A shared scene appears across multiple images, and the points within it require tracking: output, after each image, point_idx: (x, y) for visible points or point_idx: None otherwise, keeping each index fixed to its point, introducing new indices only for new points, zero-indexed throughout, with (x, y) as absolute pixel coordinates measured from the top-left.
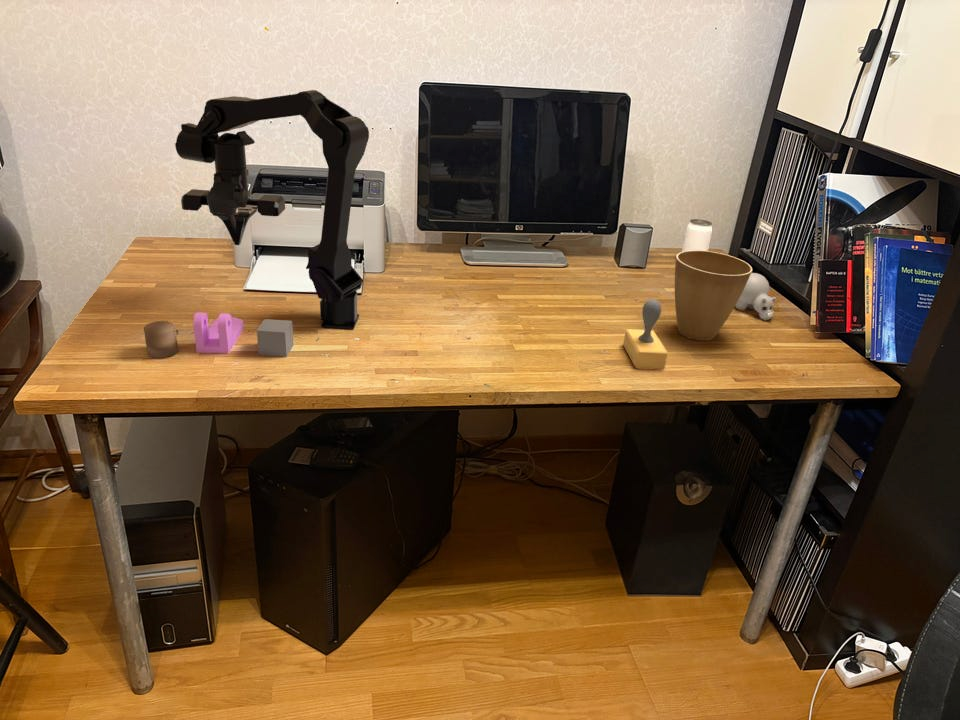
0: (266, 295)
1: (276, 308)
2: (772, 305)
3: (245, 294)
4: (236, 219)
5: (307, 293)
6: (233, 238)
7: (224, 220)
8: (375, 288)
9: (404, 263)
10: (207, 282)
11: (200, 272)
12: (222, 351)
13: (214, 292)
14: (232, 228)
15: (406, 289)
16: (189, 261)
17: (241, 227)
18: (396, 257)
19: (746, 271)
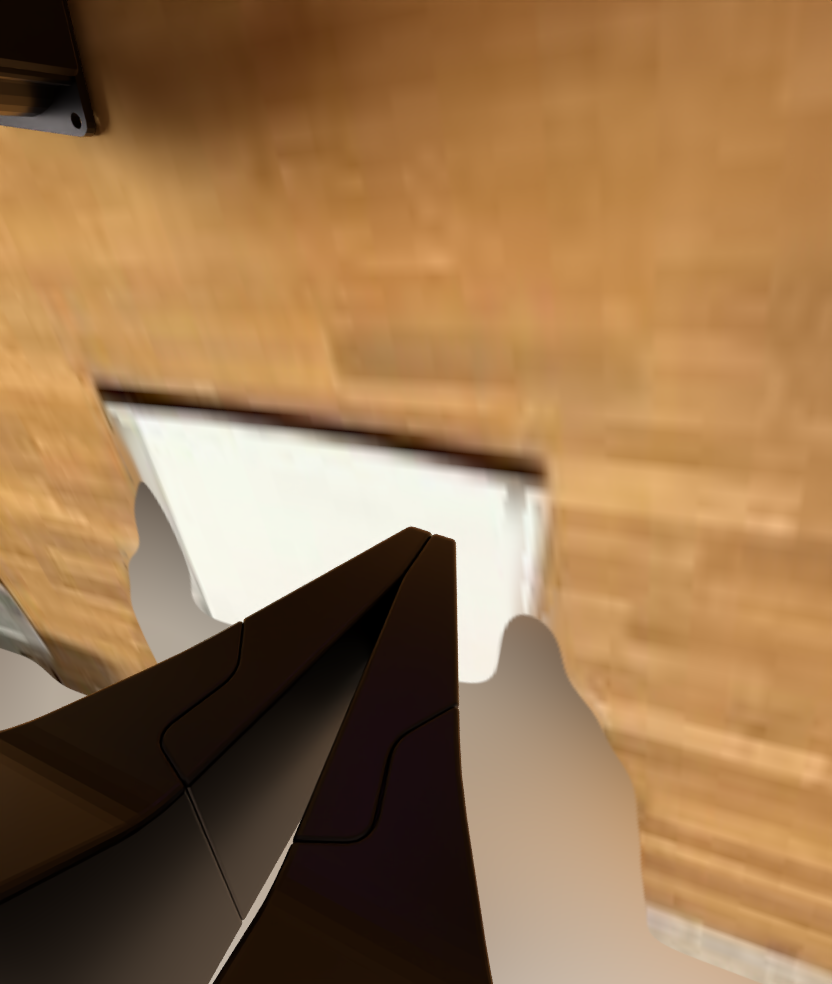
0: (429, 403)
1: (347, 217)
2: None
3: (533, 424)
4: (19, 844)
5: (269, 414)
6: (433, 587)
7: (419, 963)
8: (86, 442)
9: (109, 607)
10: (742, 595)
11: (768, 703)
12: None
13: (710, 465)
14: (352, 700)
15: (10, 425)
16: (810, 809)
17: (175, 659)
18: (143, 646)
19: None
